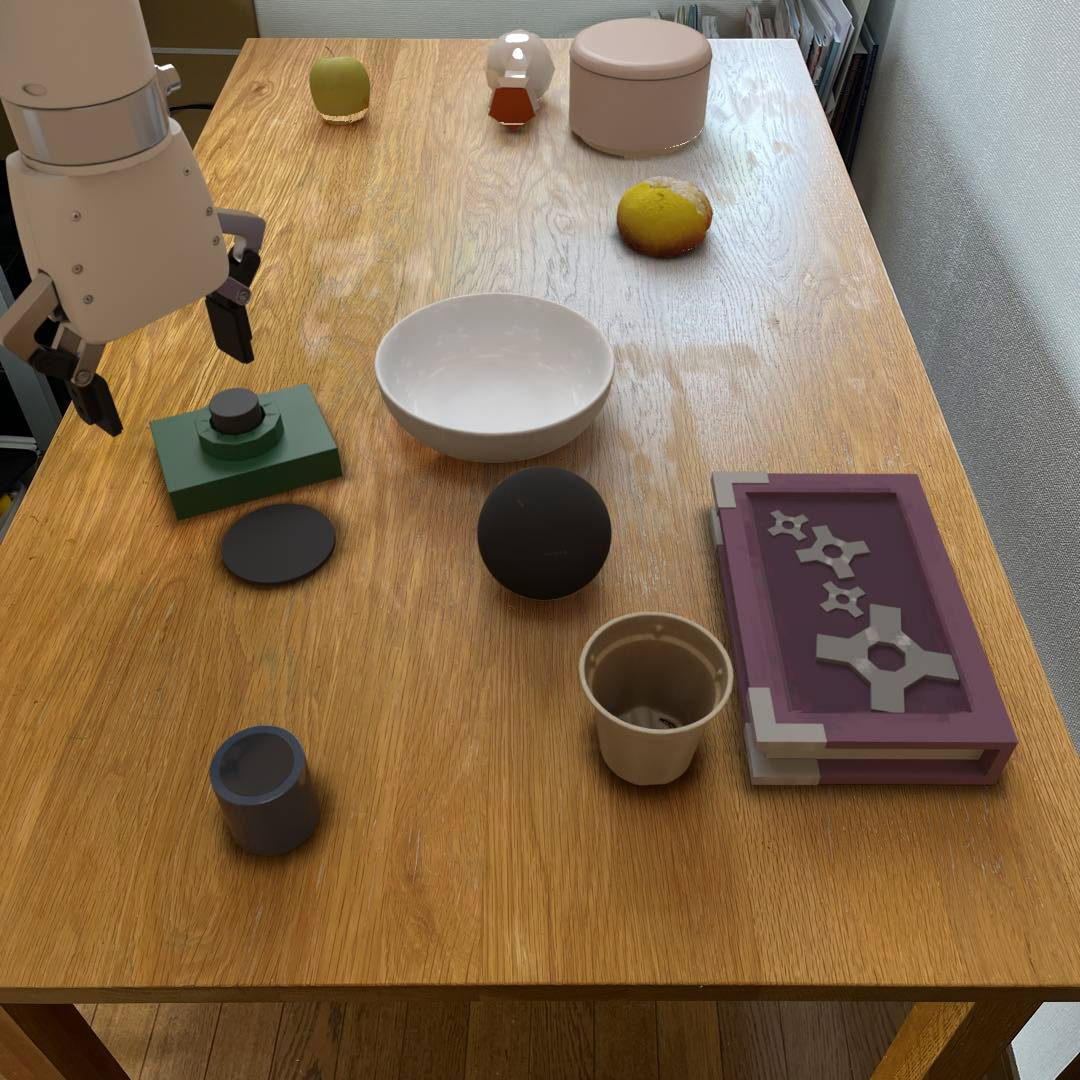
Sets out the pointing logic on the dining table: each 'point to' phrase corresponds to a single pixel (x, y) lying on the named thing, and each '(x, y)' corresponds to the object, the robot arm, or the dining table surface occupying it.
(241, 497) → the green base stand
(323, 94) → the apple
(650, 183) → the fruit
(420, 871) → the dining table surface
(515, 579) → the speaker
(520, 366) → the serving bowl
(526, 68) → the potion bottle
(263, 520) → the coaster
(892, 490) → the book
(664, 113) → the container
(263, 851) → the tumbler
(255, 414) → the dark grey short cylinder
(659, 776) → the flower pot
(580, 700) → the dining table surface
